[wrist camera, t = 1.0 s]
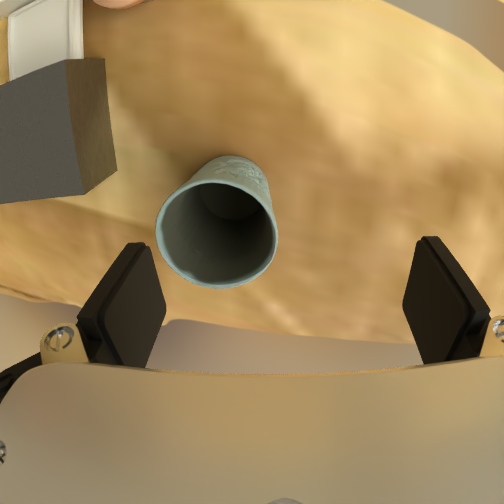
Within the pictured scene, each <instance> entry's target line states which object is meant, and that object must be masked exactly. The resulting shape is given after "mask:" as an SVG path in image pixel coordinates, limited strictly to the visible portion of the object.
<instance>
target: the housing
mask: <svg viewBox="0 0 504 504" xmlns="http://www.w3.org/2000/svg"><path fill="white" fill-rule="evenodd" d="M116 171H117V165H116V159H115V152H114V145H113V138H112V131H111V123H110V115H109V106H108V96H107V85H106V72H105V59H65V60H62V61H59V62H56V63H53V64H51V65H48V66H45V67H43V68H40V69H38V70H35V71H33V72H30V73H28V74H25V75H23V76H21V77H19V78H16V79H14V80H12V81H10V82H7V83H5V84H3V85H1V86H0V204H5V203H12V202H20V201H28V200H37V199H46V198H55V197H65V196H75V195H85V194H86V193H87V192H89V191H90V190H91V189H93V188H94V187H95V186H97V185H98V184H99V183H101V182H102V181H103V180H105V179H106V178H107V177H109V176H110V175H112V174H113V173H114V172H116Z"/></svg>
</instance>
